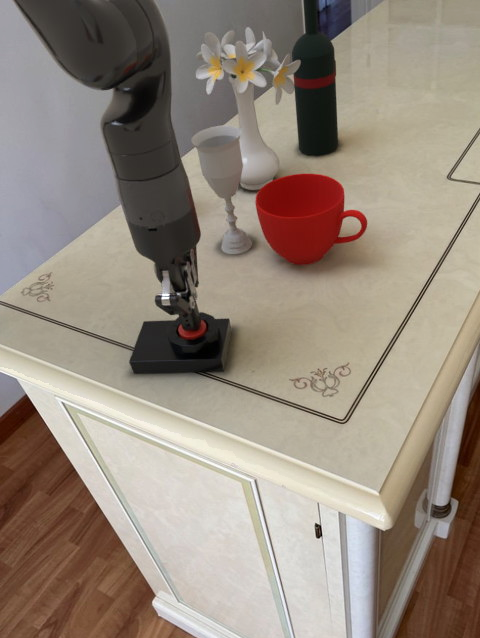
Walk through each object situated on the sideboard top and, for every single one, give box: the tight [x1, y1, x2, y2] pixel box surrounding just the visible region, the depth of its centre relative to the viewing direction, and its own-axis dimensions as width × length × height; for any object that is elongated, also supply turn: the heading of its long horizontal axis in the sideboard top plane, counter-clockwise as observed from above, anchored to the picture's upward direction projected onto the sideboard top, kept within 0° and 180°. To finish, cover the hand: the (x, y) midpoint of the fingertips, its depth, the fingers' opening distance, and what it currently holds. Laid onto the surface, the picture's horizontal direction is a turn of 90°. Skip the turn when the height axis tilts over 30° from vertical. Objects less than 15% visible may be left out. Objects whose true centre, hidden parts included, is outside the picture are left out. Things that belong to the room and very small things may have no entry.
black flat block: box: [128, 311, 233, 374], centre depth 77 cm, size 12×8×4 cm, turn 86°
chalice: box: [191, 124, 253, 255], centre depth 89 cm, size 7×7×18 cm
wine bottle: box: [291, 0, 339, 157], centre depth 108 cm, size 8×10×30 cm
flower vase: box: [195, 26, 301, 191], centre depth 101 cm, size 13×18×25 cm
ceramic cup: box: [254, 173, 368, 266], centre depth 87 cm, size 13×17×10 cm
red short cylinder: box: [178, 320, 207, 340], centre depth 76 cm, size 4×4×2 cm
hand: (192, 327), depth 75 cm, fingers closed
